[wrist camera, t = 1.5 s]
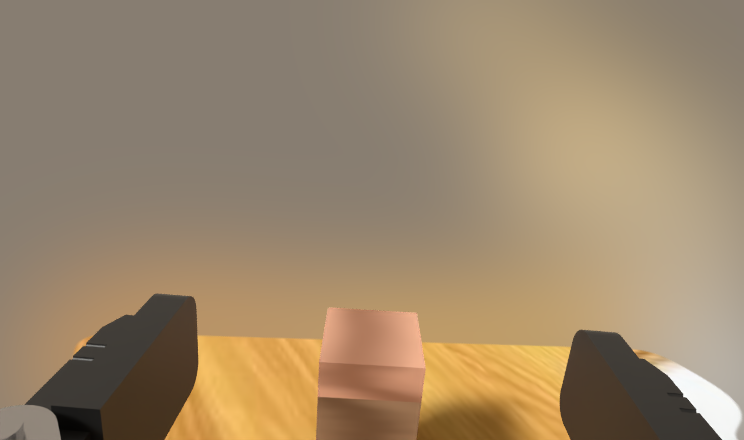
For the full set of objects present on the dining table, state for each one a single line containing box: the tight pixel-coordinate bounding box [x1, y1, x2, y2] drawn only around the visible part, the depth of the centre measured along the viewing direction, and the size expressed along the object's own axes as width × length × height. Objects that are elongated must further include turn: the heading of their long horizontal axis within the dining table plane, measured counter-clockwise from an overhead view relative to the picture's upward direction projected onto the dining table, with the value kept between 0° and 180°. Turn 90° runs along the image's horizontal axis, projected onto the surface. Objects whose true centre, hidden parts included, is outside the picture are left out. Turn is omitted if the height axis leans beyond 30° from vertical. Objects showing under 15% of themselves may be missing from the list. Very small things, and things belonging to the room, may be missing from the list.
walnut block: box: [316, 308, 425, 440], centre depth 29 cm, size 5×5×12 cm
